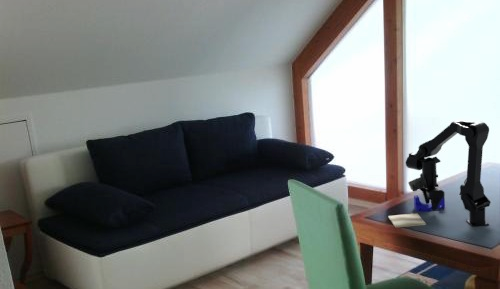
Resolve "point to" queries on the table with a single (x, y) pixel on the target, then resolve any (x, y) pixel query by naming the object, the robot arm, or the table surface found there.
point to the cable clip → (426, 205)
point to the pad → (406, 220)
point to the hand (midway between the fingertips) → (430, 207)
